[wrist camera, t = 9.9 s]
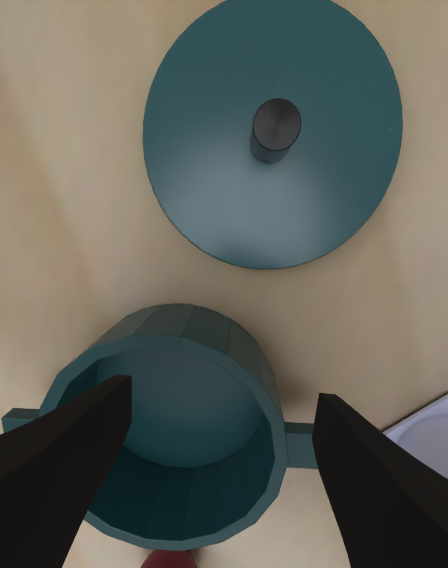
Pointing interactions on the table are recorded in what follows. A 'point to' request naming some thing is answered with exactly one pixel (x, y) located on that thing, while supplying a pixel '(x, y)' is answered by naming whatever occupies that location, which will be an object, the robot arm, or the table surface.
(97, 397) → the robot arm
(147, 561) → the beet
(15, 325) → the table surface
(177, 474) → the pot
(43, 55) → the table surface
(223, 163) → the pot lid
